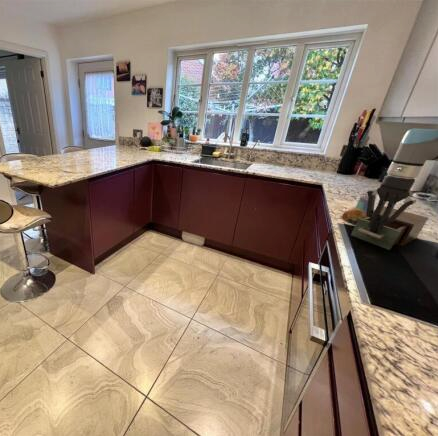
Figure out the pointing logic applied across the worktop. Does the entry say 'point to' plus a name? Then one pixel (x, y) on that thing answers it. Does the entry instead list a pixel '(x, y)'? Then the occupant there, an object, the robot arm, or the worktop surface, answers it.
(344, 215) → the bread roll
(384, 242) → the drawer
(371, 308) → the worktop surface
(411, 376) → the worktop surface
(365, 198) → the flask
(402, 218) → the cabinet
